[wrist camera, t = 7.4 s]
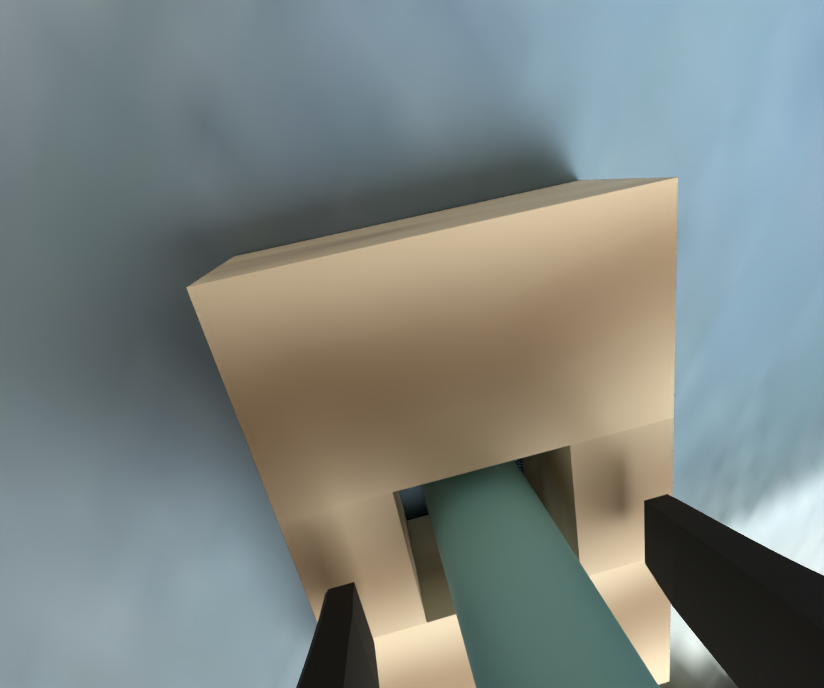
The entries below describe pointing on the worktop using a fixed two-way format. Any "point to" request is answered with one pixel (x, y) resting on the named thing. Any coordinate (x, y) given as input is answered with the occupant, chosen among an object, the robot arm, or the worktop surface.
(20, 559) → the worktop surface
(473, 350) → the hole block
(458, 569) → the peg
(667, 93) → the worktop surface
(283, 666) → the worktop surface
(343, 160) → the worktop surface
